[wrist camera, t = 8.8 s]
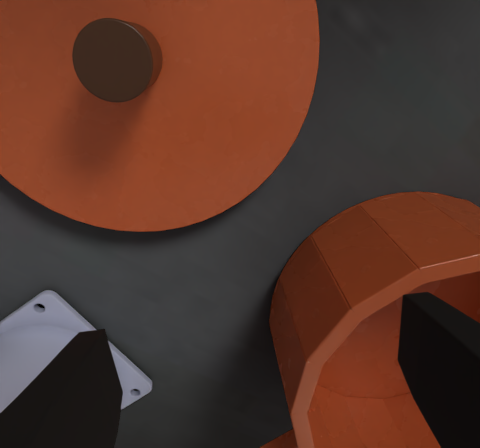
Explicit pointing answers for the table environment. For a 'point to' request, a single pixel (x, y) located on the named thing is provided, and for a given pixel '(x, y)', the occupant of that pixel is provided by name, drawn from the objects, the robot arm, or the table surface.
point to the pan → (367, 316)
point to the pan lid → (151, 103)
